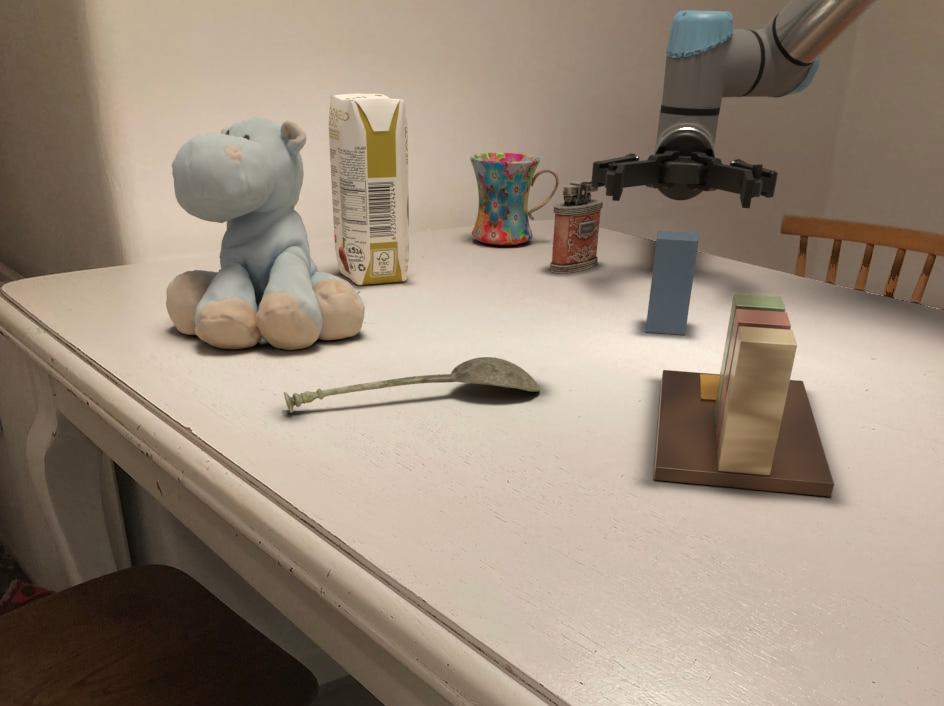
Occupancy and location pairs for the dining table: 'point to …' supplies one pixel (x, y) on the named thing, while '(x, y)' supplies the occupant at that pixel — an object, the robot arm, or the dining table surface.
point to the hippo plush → (255, 245)
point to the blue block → (671, 282)
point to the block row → (744, 412)
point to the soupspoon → (439, 380)
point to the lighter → (576, 229)
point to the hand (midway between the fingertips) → (682, 190)
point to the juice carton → (370, 187)
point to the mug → (505, 196)
